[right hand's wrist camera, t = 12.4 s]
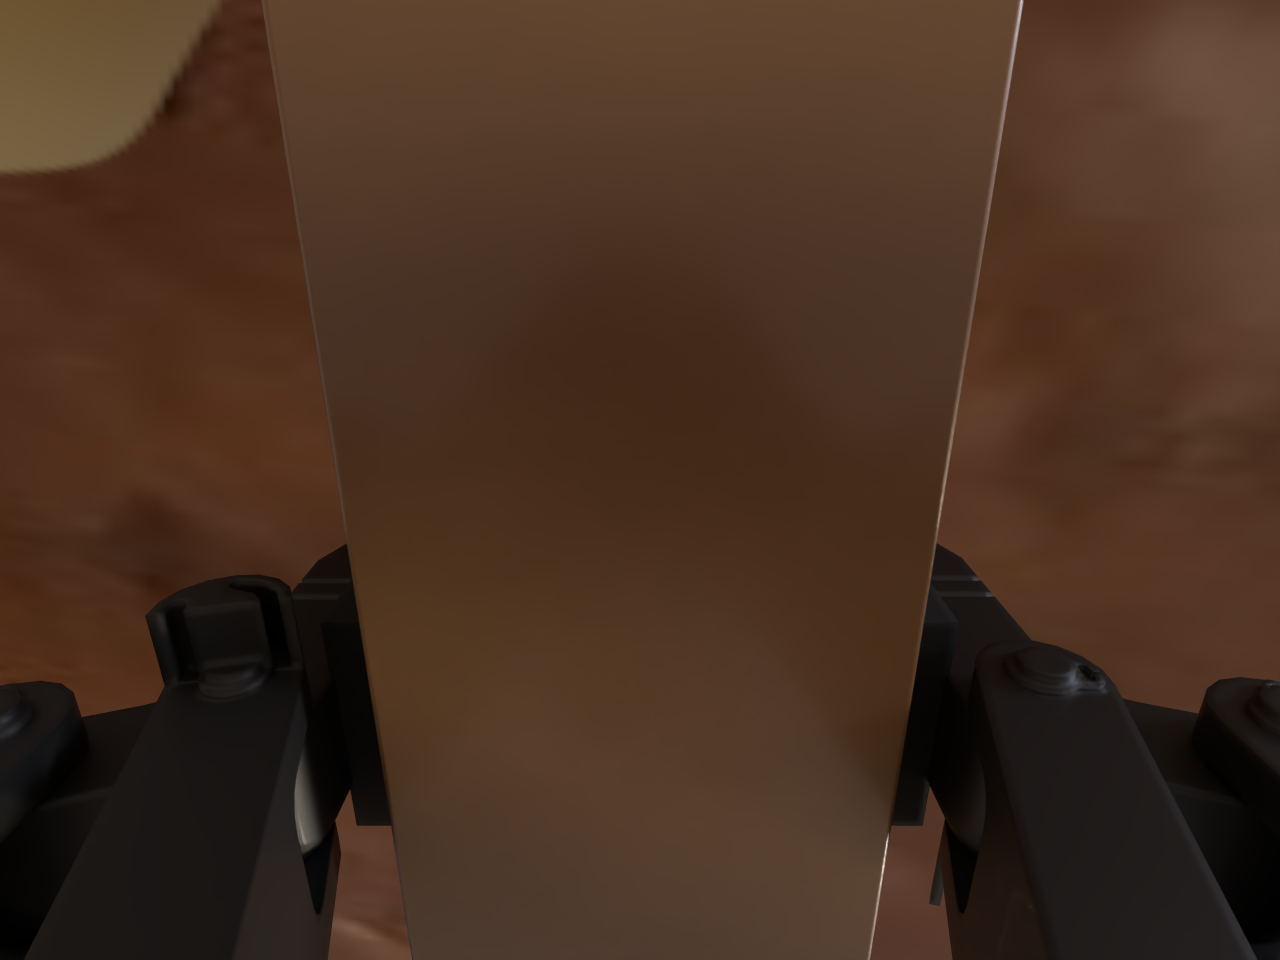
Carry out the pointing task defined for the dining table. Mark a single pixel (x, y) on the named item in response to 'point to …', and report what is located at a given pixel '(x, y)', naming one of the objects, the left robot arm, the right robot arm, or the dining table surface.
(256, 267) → the dining table surface
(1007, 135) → the dining table surface
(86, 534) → the dining table surface
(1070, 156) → the dining table surface
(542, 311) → the bar
